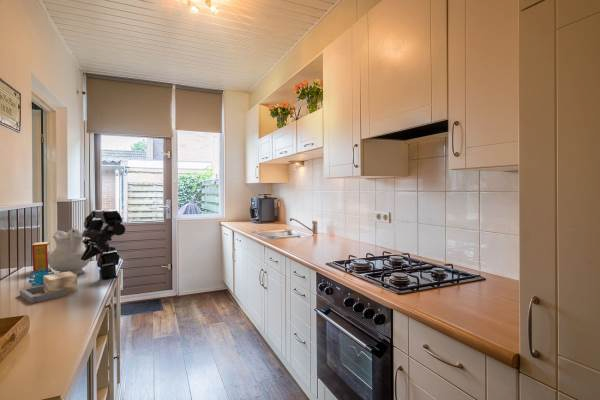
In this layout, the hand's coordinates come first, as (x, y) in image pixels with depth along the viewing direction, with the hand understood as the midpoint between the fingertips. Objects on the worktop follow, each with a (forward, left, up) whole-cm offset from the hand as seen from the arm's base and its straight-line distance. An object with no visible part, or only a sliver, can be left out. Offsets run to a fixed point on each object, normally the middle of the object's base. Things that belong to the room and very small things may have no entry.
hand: (82, 260), depth 152 cm
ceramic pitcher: (-5, -32, -13) cm, 35 cm away
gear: (+10, -19, -13) cm, 25 cm away
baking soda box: (+2, -55, -13) cm, 56 cm away
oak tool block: (+9, 0, -13) cm, 16 cm away
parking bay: (+15, 0, -13) cm, 20 cm away
